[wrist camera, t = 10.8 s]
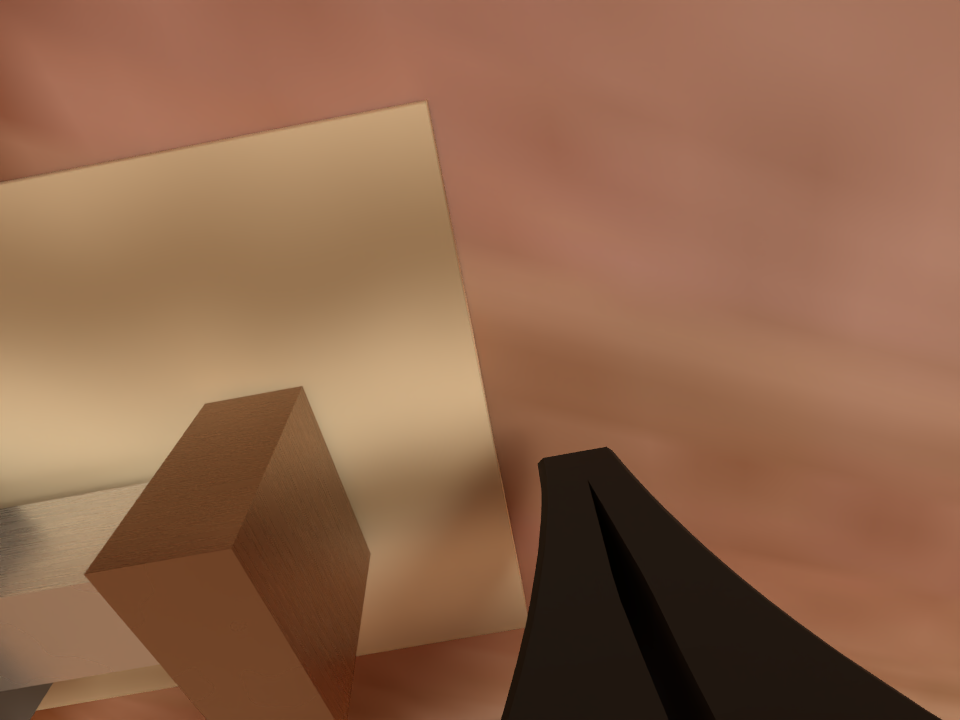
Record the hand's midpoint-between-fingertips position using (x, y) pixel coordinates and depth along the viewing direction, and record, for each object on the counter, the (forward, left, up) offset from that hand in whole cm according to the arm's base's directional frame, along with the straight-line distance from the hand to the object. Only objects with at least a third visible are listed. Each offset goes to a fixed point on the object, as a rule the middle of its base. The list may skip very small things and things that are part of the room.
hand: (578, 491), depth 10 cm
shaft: (0, +9, -2) cm, 10 cm away
